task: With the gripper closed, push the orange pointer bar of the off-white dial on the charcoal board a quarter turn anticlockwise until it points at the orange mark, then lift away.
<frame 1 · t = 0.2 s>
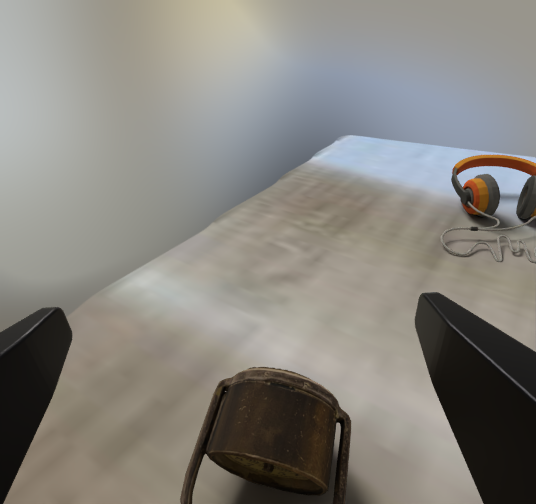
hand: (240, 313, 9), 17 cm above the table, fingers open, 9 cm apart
headphones: (501, 222, 46), on the table
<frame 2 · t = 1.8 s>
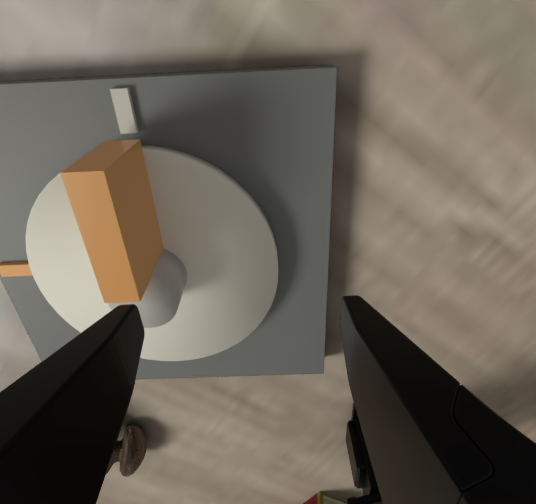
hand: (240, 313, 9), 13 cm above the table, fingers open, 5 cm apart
dial board: (166, 249, 24), on the table
dial: (145, 288, 20), point 4 cm above the table, hinge at 0.0°
brown curved looped piece: (74, 427, 33), on the table
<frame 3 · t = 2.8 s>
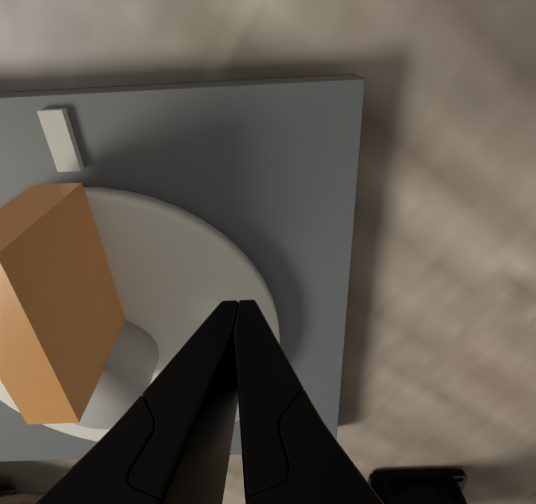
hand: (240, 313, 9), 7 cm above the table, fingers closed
dial board: (135, 309, 18), on the table
dial: (99, 378, 14), point 4 cm above the table, hinge at 0.0°
brown curved looped piece: (38, 498, 28), on the table
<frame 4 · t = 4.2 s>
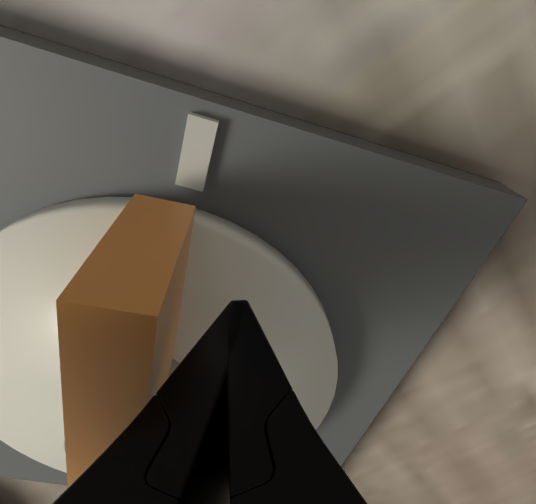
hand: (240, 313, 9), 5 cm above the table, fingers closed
dial board: (162, 334, 16), on the table
dial: (132, 426, 12), point 4 cm above the table, hinge at 3.5°, touching gripper
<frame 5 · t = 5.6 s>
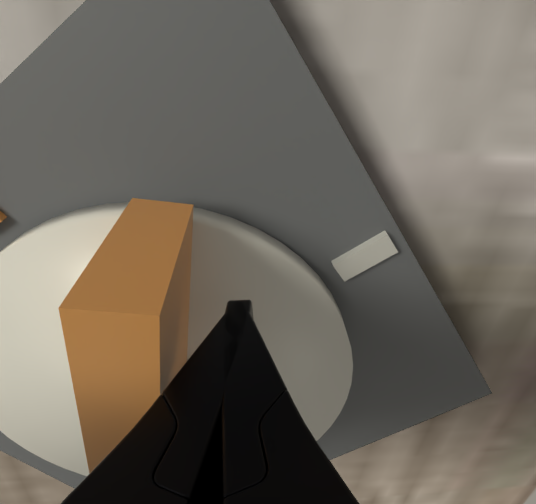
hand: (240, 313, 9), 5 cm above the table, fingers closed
dial board: (175, 336, 16), on the table
dial: (153, 427, 12), point 4 cm above the table, hinge at 47.5°, touching gripper
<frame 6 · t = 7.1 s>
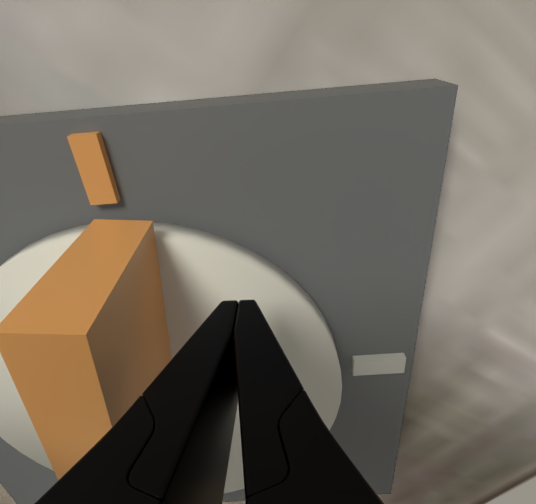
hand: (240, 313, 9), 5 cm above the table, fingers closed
dial board: (171, 347, 16), on the table
dial: (141, 439, 12), point 4 cm above the table, hinge at 83.5°
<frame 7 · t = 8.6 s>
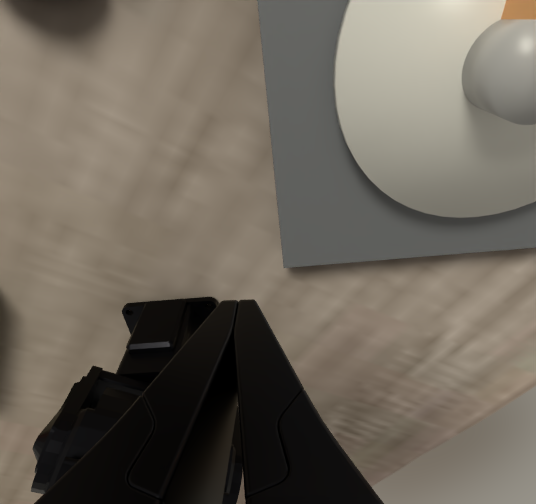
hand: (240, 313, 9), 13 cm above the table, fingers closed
dial board: (476, 59, 18), on the table
dial: (534, 63, 14), point 4 cm above the table, hinge at 83.6°
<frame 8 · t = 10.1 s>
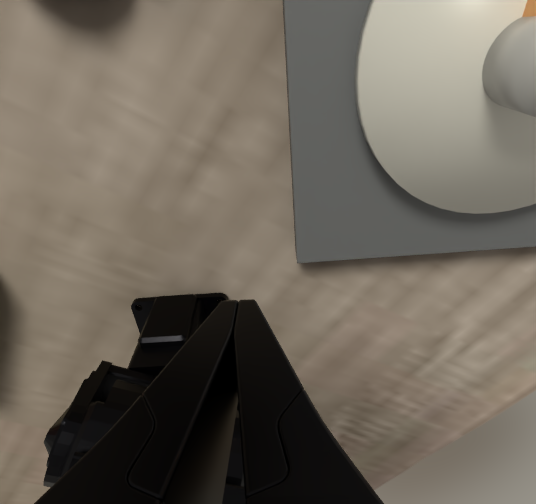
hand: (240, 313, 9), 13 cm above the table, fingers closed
dial board: (493, 58, 18), on the table
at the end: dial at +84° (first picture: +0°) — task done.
